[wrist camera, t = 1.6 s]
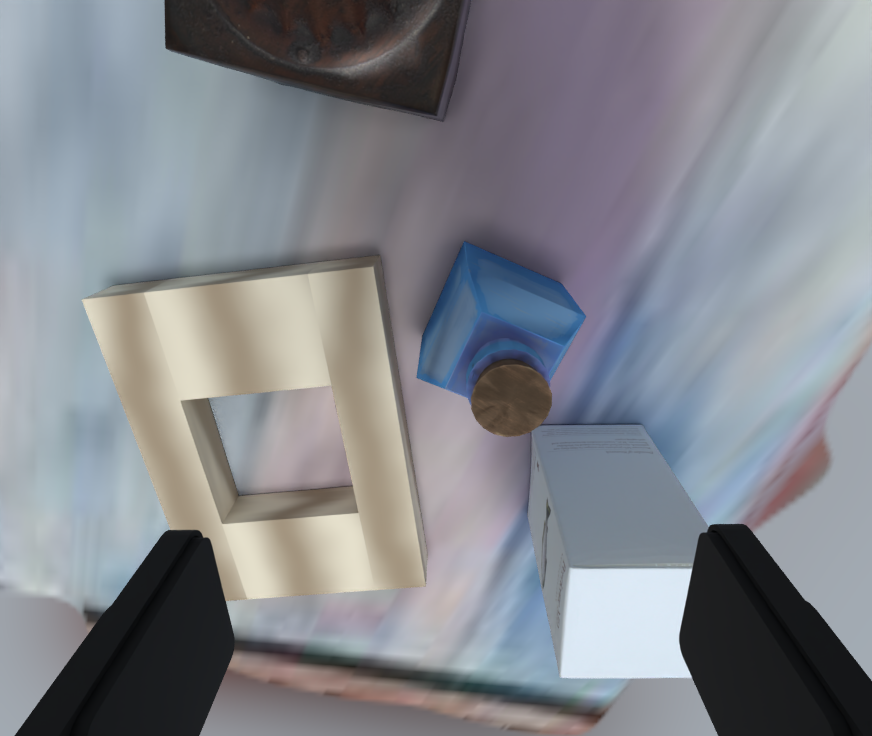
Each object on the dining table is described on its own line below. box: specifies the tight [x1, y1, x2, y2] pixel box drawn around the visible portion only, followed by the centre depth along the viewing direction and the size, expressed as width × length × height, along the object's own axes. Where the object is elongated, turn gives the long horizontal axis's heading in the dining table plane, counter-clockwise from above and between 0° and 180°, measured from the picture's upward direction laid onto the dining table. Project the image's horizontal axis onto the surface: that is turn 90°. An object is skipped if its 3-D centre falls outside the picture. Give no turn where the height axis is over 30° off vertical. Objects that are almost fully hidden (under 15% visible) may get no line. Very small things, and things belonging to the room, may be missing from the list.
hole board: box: [82, 255, 428, 601], centre depth 34 cm, size 16×22×3 cm
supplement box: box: [528, 425, 709, 678], centre depth 31 cm, size 7×7×13 cm
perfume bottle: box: [417, 241, 586, 437], centre depth 27 cm, size 6×6×12 cm
